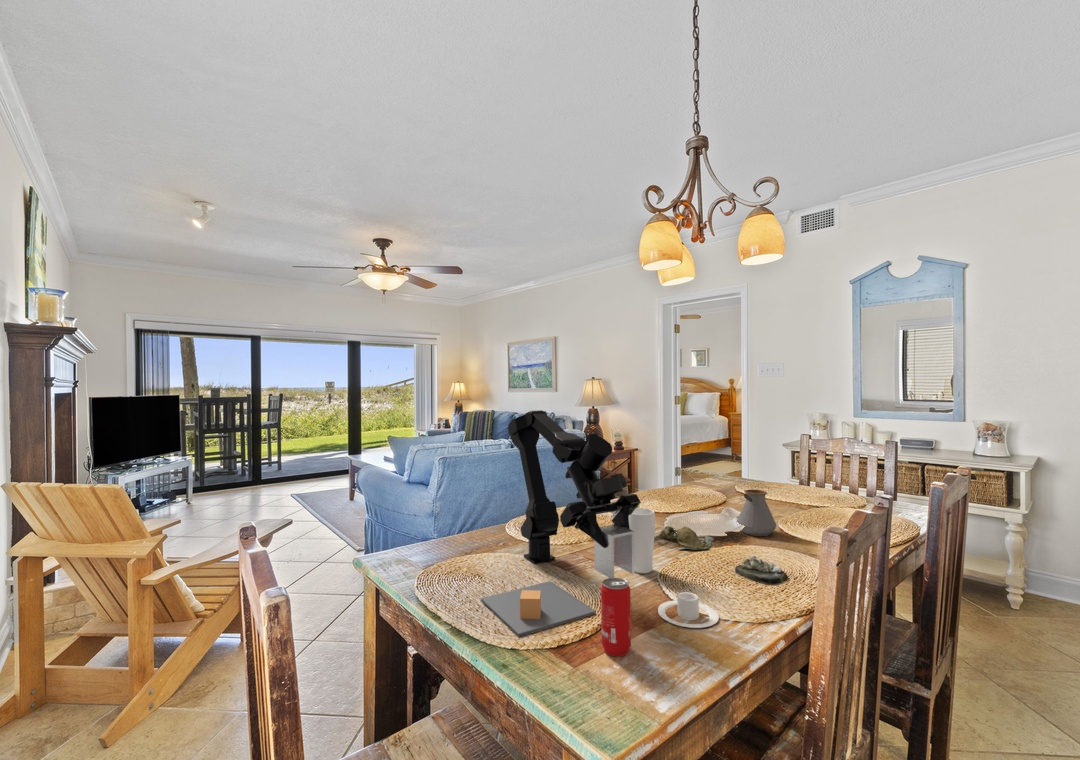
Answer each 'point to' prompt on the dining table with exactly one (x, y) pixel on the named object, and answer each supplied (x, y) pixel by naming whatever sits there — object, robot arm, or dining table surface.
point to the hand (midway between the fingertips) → (618, 544)
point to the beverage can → (615, 616)
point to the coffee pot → (756, 514)
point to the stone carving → (761, 571)
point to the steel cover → (615, 550)
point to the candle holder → (688, 610)
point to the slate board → (553, 608)
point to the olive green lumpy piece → (684, 538)
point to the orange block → (530, 604)
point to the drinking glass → (643, 538)
